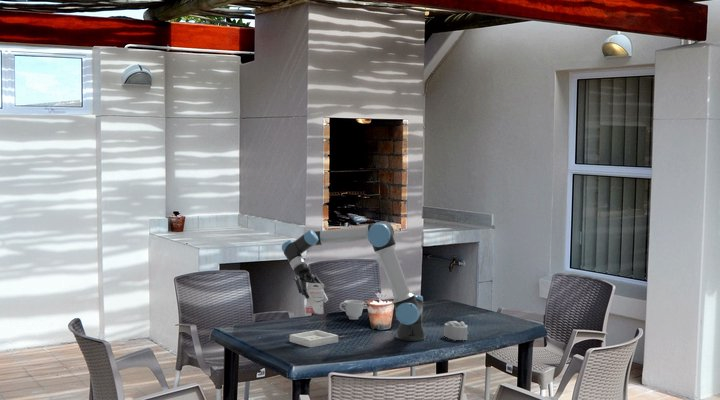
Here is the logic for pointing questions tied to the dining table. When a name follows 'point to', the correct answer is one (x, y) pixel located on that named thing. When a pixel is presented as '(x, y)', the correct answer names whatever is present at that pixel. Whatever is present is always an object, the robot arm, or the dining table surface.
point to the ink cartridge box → (315, 298)
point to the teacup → (353, 308)
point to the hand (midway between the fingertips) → (319, 302)
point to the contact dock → (313, 338)
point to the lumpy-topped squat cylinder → (455, 330)
